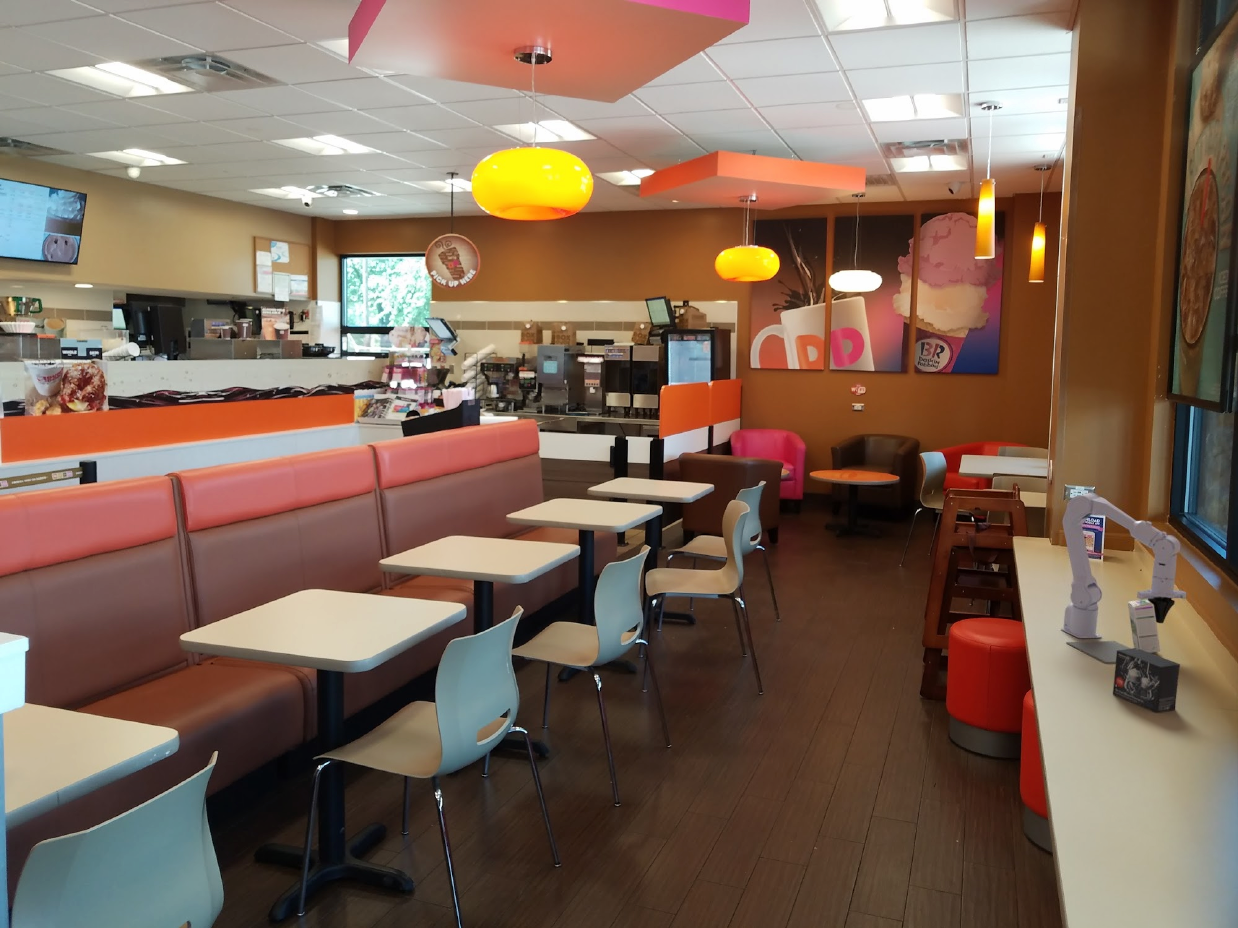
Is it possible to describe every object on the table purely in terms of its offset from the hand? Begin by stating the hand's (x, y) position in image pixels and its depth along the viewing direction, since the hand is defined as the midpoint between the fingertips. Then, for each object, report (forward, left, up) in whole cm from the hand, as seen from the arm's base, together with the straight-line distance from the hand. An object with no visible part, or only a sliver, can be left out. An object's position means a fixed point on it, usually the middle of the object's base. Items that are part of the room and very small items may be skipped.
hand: (1158, 622), depth 279 cm
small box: (+37, -33, -9) cm, 50 cm away
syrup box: (0, -3, -8) cm, 9 cm away
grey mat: (0, -15, -9) cm, 17 cm away
